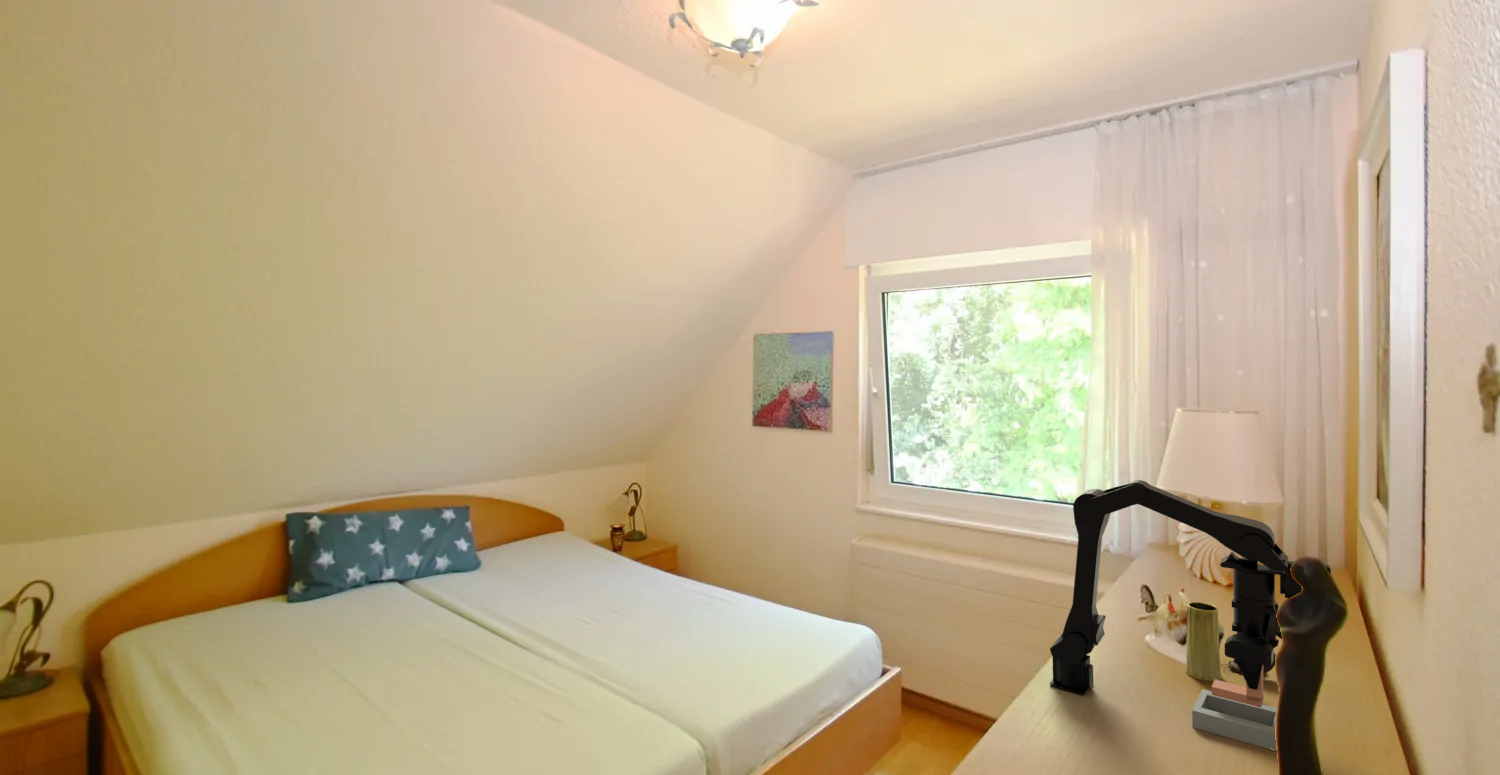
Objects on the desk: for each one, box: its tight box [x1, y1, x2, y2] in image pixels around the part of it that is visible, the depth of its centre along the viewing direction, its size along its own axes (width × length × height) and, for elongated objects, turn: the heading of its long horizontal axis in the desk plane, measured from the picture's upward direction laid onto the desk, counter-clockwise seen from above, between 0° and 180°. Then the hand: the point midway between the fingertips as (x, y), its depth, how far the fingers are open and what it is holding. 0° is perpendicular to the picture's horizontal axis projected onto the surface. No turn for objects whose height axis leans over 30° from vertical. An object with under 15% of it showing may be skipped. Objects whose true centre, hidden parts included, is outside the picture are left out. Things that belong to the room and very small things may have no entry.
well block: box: [1191, 688, 1278, 752], centre depth 117 cm, size 12×10×3 cm
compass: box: [1220, 652, 1277, 676], centre depth 137 cm, size 8×8×7 cm
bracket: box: [1211, 667, 1264, 708], centre depth 117 cm, size 7×4×7 cm, turn 47°
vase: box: [1185, 601, 1223, 682], centre depth 136 cm, size 6×6×14 cm
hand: (1254, 684), depth 115 cm, fingers closed on bracket, 3 cm apart
